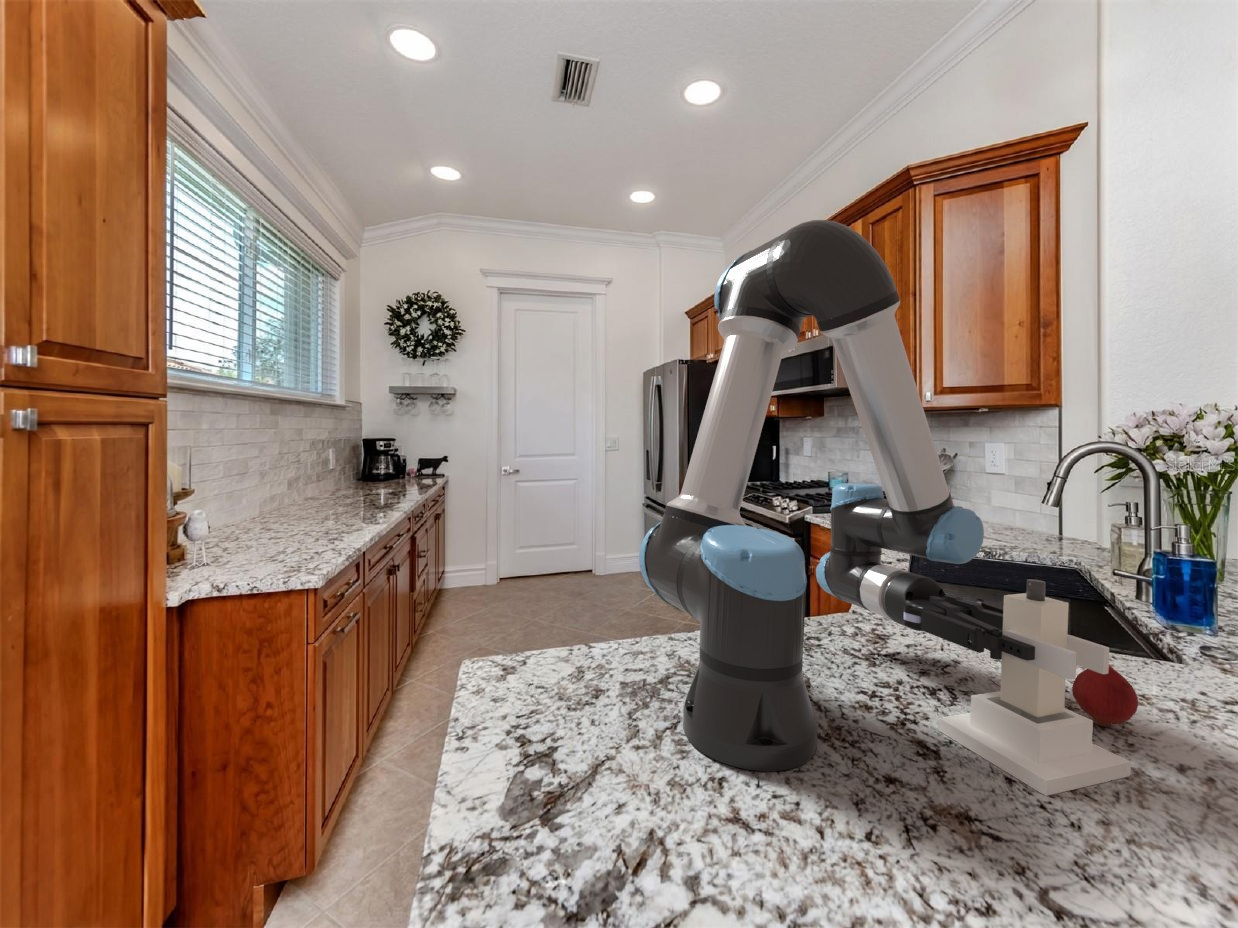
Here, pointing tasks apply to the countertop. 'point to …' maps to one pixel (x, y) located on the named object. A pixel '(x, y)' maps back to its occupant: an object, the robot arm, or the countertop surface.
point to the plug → (1045, 623)
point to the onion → (1105, 696)
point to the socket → (1035, 745)
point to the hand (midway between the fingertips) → (1089, 663)
